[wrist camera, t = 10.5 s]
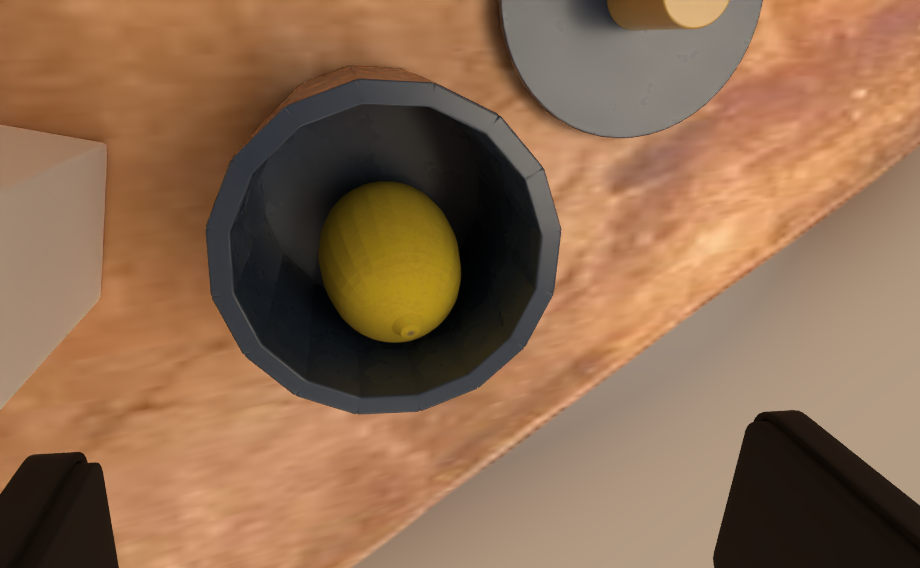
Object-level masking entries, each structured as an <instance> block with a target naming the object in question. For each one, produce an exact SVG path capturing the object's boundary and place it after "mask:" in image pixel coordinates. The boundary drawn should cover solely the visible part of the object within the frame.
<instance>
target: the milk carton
mask: <svg viewBox="0 0 920 568" xmlns="http://www.w3.org/2000/svg"><path fill="white" fill-rule="evenodd" d="M106 171H107V146H106V144H105V143H102V142H96V141H90V140H85V139H79V138H74V137H68V136H62V135H57V134H51V133H46V132H40V131H35V130H29V129H23V128H18V127H12V126H7V125H1V124H0V410H1V408H2V407H3V406H4V405H5V404H6V403H7V402H8V401H9V400H10V398H11V397H12V396H13V395H14V394H15V393H16V392H17V391H18V390H19V388H20V387H21V386H22V385H23V384H24V383H25V382H26V381H27V380H28V378H29V377H30V376H31V375H32V374H33V373H34V372H35V371H36V370H37V369H38V367H39V366H40V365H41V364H42V363H43V362H44V361H45V360H46V359H47V357H48V356H49V355H50V354H51V353H52V352H53V351H54V350H55V349H56V347H57V346H58V345H59V344H60V343H61V342H62V341H63V340H64V339H65V337H66V336H67V335H68V334H69V333H70V332H71V331H72V330H73V329H74V327H75V326H76V325H77V324H78V323H79V322H80V321H81V320H82V319H83V317H84V316H85V315H86V314H87V313H88V312H89V311H90V310H91V309H92V307H93V306H94V305H95V304H96V303H97V302H98V301H99V299H100V296H101V284H102V262H103V239H104V216H105V194H106Z"/></svg>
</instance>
